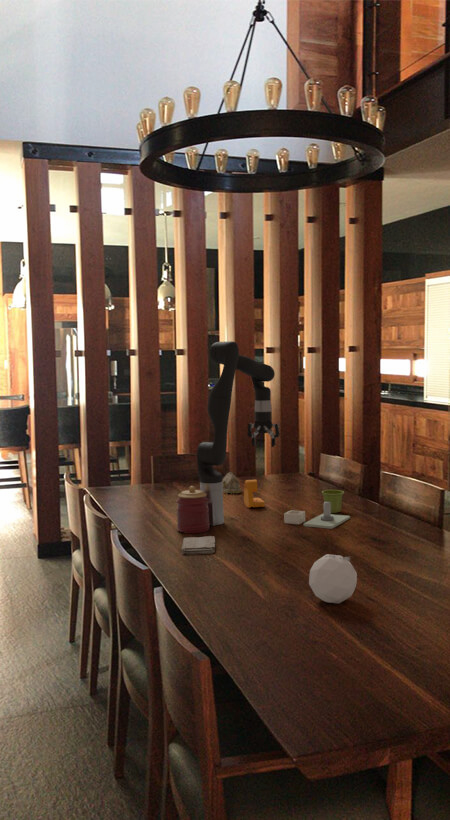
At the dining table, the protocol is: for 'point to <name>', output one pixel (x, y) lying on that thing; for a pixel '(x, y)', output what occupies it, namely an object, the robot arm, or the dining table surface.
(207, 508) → the canister
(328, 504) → the stand
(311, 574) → the geodesic sphere
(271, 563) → the dining table surface
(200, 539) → the washcloth
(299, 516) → the white hollow square block
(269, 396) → the robot arm
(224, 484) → the ceramic model
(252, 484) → the bracket
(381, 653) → the dining table surface
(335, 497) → the plant pot
